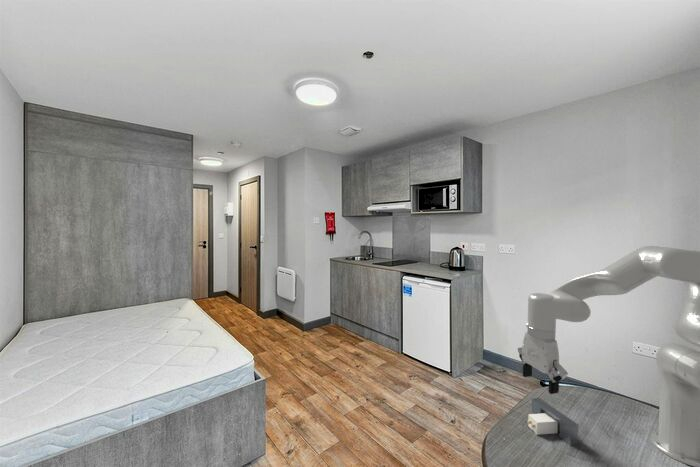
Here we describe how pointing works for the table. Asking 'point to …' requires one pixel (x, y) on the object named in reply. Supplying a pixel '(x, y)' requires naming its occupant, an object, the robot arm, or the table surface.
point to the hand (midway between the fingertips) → (539, 384)
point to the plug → (543, 423)
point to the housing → (566, 425)
